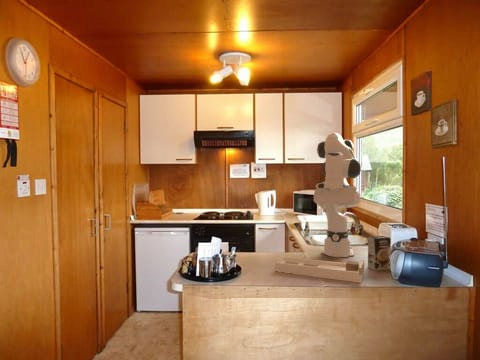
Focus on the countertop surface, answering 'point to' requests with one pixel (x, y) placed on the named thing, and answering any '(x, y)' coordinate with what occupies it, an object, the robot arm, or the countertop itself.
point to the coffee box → (379, 252)
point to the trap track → (320, 269)
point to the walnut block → (352, 266)
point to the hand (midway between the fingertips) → (334, 212)
